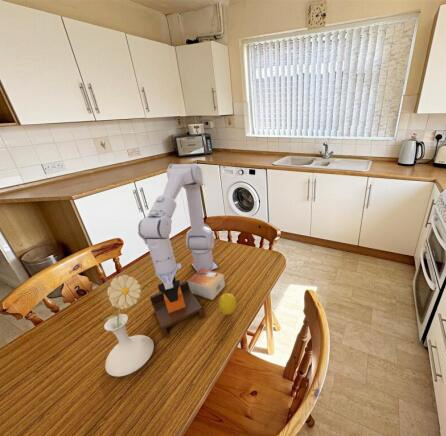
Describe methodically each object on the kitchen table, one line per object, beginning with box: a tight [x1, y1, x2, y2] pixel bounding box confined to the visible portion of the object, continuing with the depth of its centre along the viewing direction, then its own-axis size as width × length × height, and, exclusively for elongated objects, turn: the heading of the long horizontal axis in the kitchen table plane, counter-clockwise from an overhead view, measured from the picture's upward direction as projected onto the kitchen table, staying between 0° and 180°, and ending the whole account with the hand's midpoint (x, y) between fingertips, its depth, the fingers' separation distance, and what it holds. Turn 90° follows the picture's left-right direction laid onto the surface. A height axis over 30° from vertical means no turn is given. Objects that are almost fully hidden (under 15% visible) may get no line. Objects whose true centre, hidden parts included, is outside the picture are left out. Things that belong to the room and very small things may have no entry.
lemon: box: [218, 292, 238, 316], centre depth 76 cm, size 6×6×8 cm
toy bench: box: [149, 280, 205, 338], centre depth 76 cm, size 12×12×7 cm
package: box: [164, 286, 185, 313], centre depth 75 cm, size 5×4×6 cm
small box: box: [186, 269, 226, 301], centre depth 87 cm, size 8×6×10 cm
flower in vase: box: [102, 274, 155, 377], centre depth 60 cm, size 13×11×25 cm
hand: (173, 292), depth 74 cm, fingers open, 7 cm apart
